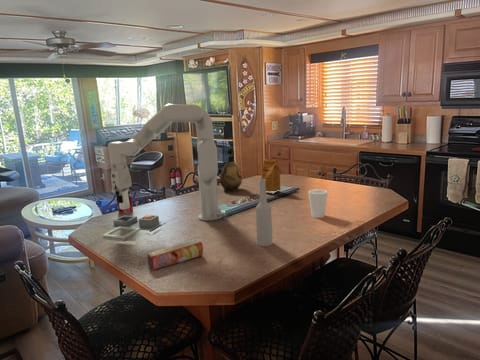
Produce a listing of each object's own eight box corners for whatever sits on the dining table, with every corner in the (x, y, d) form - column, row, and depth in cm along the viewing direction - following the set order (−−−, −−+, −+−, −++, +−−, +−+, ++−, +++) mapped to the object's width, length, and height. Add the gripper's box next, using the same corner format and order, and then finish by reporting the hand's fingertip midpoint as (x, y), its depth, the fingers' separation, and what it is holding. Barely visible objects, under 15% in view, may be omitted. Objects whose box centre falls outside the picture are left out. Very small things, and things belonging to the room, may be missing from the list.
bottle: (261, 247, 150) (258, 182, 144) (254, 242, 156) (251, 179, 150) (275, 244, 152) (273, 179, 146) (268, 239, 158) (265, 177, 152)
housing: (161, 225, 185) (160, 214, 184) (150, 231, 176) (149, 221, 175) (125, 222, 193) (124, 212, 192) (112, 228, 184) (111, 218, 183)
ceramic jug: (242, 192, 244) (240, 148, 238) (219, 193, 244) (217, 149, 238) (242, 186, 260) (240, 145, 254) (221, 187, 261) (218, 146, 255)
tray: (140, 232, 176) (139, 228, 175) (124, 241, 165) (124, 236, 164) (120, 230, 180) (119, 226, 179) (103, 239, 169) (103, 234, 168)
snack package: (153, 272, 133) (151, 255, 132) (147, 266, 138) (145, 249, 137) (204, 257, 144) (203, 241, 142) (197, 252, 149) (196, 236, 148)
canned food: (135, 212, 211) (133, 193, 208) (127, 216, 203) (125, 197, 201) (125, 211, 213) (122, 193, 211) (116, 215, 206) (113, 197, 204)
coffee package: (269, 189, 248) (268, 157, 243) (282, 192, 239) (281, 159, 234) (258, 192, 242) (257, 159, 237) (272, 195, 232) (270, 161, 228)
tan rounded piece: (154, 222, 182) (154, 215, 182) (150, 225, 179) (149, 217, 178) (148, 222, 184) (147, 214, 183) (143, 224, 180) (142, 217, 179)
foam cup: (329, 214, 189) (329, 189, 186) (325, 219, 180) (325, 194, 178) (311, 212, 193) (310, 189, 190) (306, 217, 184) (306, 193, 182)
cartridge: (131, 206, 186) (129, 188, 184) (125, 209, 182) (123, 190, 180) (124, 206, 188) (121, 187, 186) (117, 209, 184) (114, 190, 181)
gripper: (113, 169, 171) (118, 206, 175) (135, 163, 187) (140, 197, 191) (101, 169, 174) (106, 205, 178) (123, 163, 189) (128, 196, 193)
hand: (123, 200), depth 184 cm, fingers closed on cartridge, 5 cm apart
